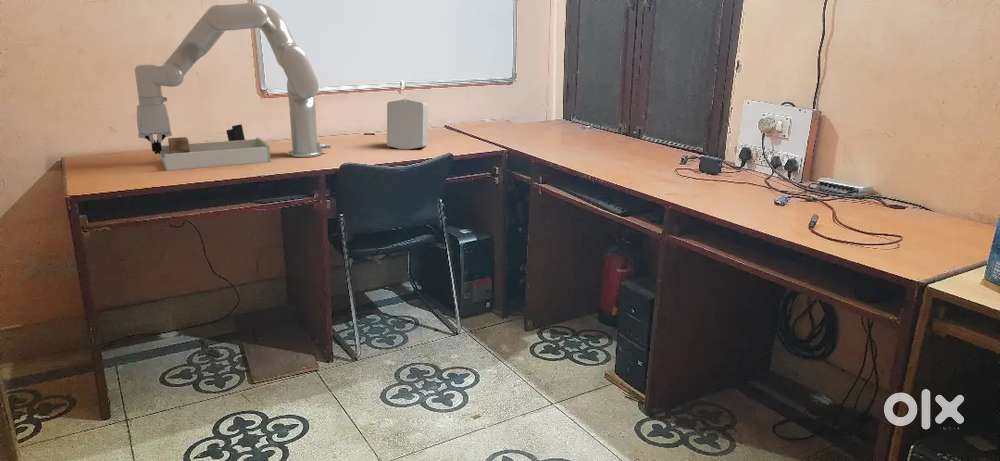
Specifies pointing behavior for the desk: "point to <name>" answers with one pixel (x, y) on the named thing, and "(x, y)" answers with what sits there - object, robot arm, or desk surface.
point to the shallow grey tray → (217, 154)
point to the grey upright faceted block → (406, 124)
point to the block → (178, 145)
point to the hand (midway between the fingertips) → (157, 153)
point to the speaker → (235, 133)
